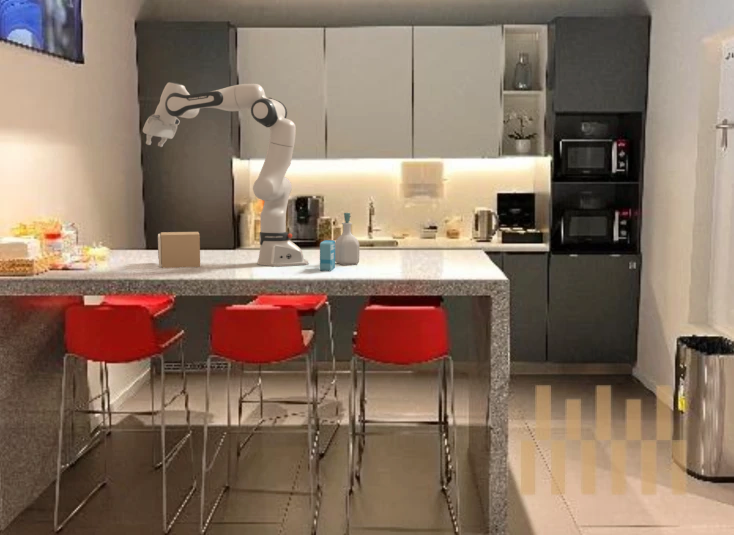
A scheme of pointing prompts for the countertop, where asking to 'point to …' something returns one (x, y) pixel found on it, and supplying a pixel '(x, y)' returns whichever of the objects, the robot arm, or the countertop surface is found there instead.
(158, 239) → the inner tray
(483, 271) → the countertop surface
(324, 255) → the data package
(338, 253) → the soap bottle
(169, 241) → the carton
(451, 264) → the countertop surface
